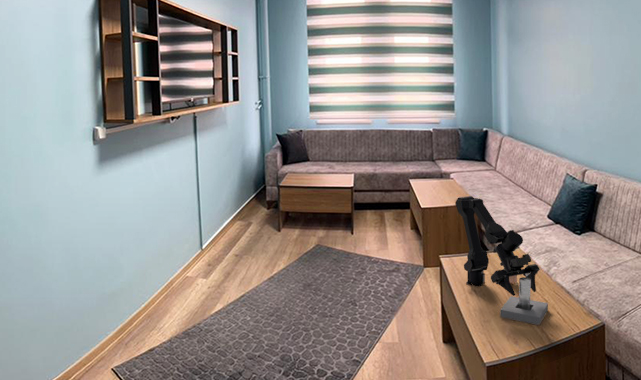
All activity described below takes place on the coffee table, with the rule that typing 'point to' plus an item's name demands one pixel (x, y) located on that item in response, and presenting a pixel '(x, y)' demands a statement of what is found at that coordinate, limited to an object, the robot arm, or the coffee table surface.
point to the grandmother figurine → (513, 280)
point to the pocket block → (524, 311)
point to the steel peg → (524, 293)
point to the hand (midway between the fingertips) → (524, 293)
